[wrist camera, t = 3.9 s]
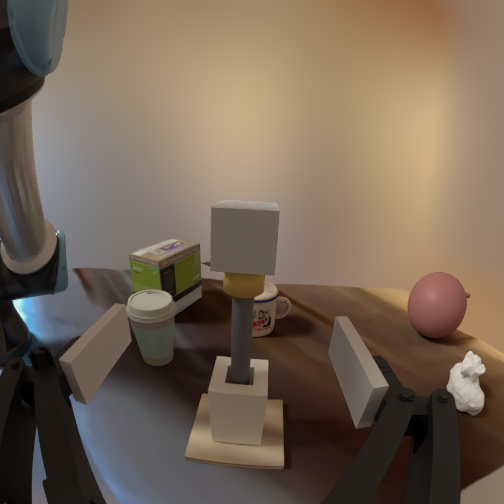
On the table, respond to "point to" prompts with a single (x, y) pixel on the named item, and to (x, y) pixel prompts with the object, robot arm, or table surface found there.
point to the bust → (467, 384)
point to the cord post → (243, 267)
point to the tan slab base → (234, 453)
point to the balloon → (437, 305)
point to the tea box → (169, 270)
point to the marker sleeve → (238, 403)
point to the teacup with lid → (267, 310)
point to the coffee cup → (153, 325)
